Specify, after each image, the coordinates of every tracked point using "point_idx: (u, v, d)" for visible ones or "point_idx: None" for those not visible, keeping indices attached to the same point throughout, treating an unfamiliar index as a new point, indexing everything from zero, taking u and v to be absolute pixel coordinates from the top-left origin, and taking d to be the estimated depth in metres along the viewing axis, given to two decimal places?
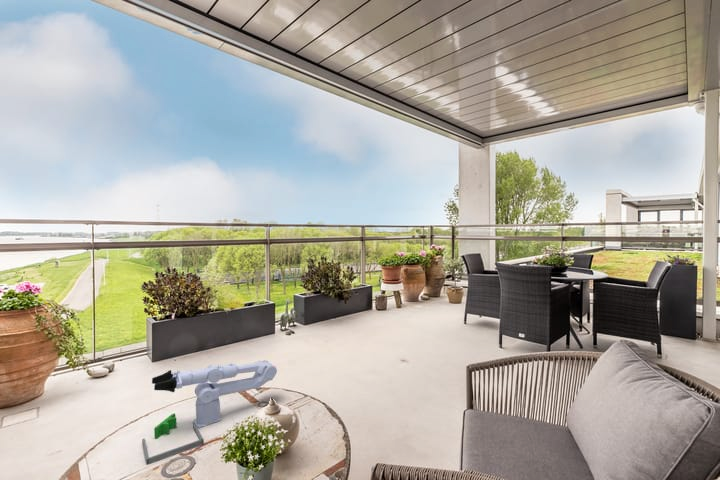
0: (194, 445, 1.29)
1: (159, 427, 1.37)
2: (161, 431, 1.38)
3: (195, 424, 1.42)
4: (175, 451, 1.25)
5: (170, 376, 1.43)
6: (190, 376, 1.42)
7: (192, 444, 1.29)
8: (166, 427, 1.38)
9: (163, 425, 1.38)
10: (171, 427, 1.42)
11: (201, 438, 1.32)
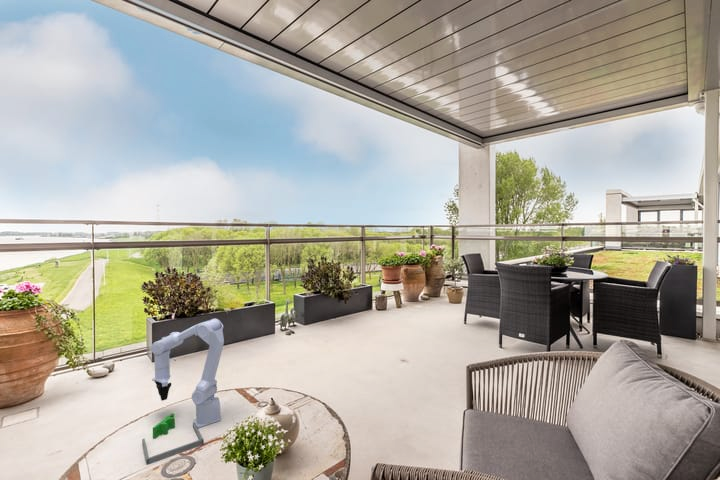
0: (194, 445, 1.29)
1: (158, 427, 1.37)
2: (160, 431, 1.38)
3: (195, 424, 1.42)
4: (175, 451, 1.25)
5: None
6: (159, 370, 1.48)
7: (192, 444, 1.29)
8: (164, 427, 1.38)
9: (161, 425, 1.38)
10: (169, 427, 1.42)
11: (201, 438, 1.32)
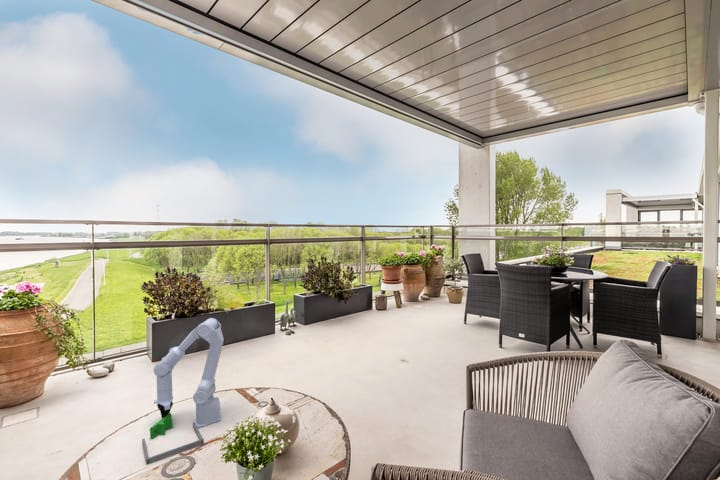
0: (194, 445, 1.29)
1: (155, 427, 1.37)
2: (157, 431, 1.38)
3: (195, 424, 1.42)
4: (175, 451, 1.25)
5: None
6: (161, 392, 1.44)
7: (192, 444, 1.29)
8: (162, 427, 1.38)
9: (159, 425, 1.38)
10: (167, 427, 1.42)
11: (201, 438, 1.32)
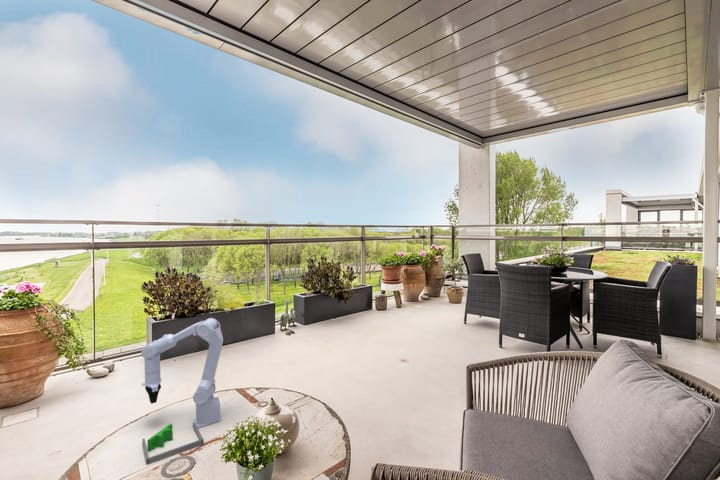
0: (194, 445, 1.29)
1: (153, 439, 1.29)
2: (156, 443, 1.30)
3: (195, 424, 1.42)
4: (175, 451, 1.25)
5: None
6: (149, 374, 1.43)
7: (192, 444, 1.29)
8: (160, 439, 1.30)
9: (157, 437, 1.30)
10: (167, 439, 1.34)
11: (201, 438, 1.32)
